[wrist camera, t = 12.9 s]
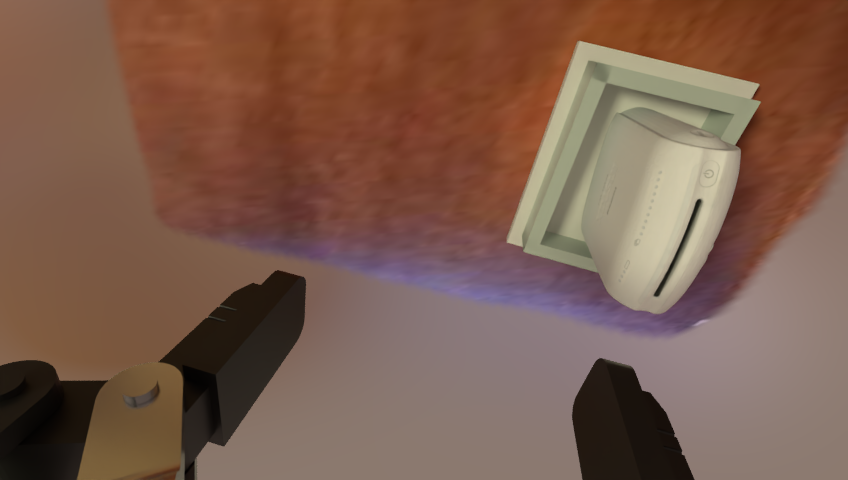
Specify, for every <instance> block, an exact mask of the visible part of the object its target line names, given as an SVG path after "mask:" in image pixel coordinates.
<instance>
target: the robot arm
mask: <svg viewBox="0 0 848 480" xmlns="http://www.w3.org/2000/svg"><path fill="white" fill-rule="evenodd" d="M305 293H306V280H305V278H304V277H301V276H297V275H294V274H290V273H287V272H283V271H279V270H277V271H275V272H274V273H273V274H271V275H270V277H269V278H267V279H266V280H265V282H264V283H263V284H262V285H258V284H255V283H252V284H250V285H248V286H245V287H243V288H241V289H239V290H237V291H235V292H233V293H232V294H231V296H229V297H228V298H227V299H226V300H225V301H224V302H223V303H222V304H220V307H217V308H216V309H215V310H214V311H213V312H212V313H211V314H210V315H209V317H208V318H206V319H204V320H203V321H202V322H201V323H200V324H199V325H198V326H197V327H196V328H195V329H194V330H193V331H192V332H190V333H189V335H187V336H186V337H185V338H184V339H183V340H182V341H181V342H180V343H179V344H177V345H176V346H175V348H173V349H172V350H171V351H170V352H169V353H168V354H167V355H166V356H165V357H164V358H163V359H161V360H160V361H159V362H152V363H144V364H140V365H137V366H133V367H130V368H128V369H126V370H124V371H122V372H120V373H118V374H117V375H115V376H114V377H113V378H111V379H110V380H107V381H60V380H59V378H58V375H57V373H56V370H55V368H54V367H53V366H52V365H50V364H48V363H46V362H43V361H37V360H26V361H18V362H12V363H8V364H4V365H2V366H0V480H197V456H198V454H199V453H200V452H201V450H202V449H203V448H204V446H205V445H206V443H207V442H211V443H215V444H217V445H221V446H225V445H226V443H227V442H228V440H229V439H230V437H231V436H232V434H233V433H234V432H235V430H236V429H237V427H238V426H239V424H240V423H241V421H242V420H243V418H244V417H245V416H246V414H247V413H248V411H249V410H250V408H251V407H252V406H253V404H254V402H255V401H256V400H257V398H258V397H259V395H260V394H261V392H262V391H263V390H264V388H265V387H266V385H267V384H268V382H269V381H270V380H271V378H272V377H273V375H274V374H275V372H276V371H277V369H278V368H279V367H280V365H281V363H282V362H283V361H284V359H285V358H286V356H287V355H288V353H289V352H290V351H291V349H292V348H293V346H294V345H295V343H296V342H297V340H298V338H299V336H300V334H301V331H302V329H303V325H304V317H305ZM572 420H573V426H574V432H575V438H576V444H577V450H578V456H579V462H580V467H581V473H582V479H583V480H694V478H693V475H692V473H691V470H690V468H689V466H688V463H687V461H686V459H685V456H684V455H682V449H681V447H680V445H679V442H678V440H677V438H676V437H674V434H675V433H674V430H673V428H672V426H671V423H670V421H669V419H668V416H667V414H666V412H665V411H664V409H663V408H662V407H661V406H660V404H659V403H658V402H657V401H656V400H655V399H654V397H653V396H652V394H651V393H649V392H646V391H642V389H641V386H640V384H639V381H638V378H637V376H636V373H635V371H634V369H633V368H632V367H631V366H628V365H625V364H621V363H617V362H614V361H610V360H606V359H602V358H600V359H598V360H597V361H596V362H595V363H594V365H593V367H592V369H591V370H590V372H589V374H588V376H587V378H586V380H585V381H584V383H583V385H582V387H581V388H580V390H579V392H578V394H577V396H576V398H575V401H574V405H573V412H572Z"/></svg>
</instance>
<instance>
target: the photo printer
mask: <svg viewBox="0 0 848 480" xmlns="http://www.w3.org/2000/svg"><path fill="white" fill-rule="evenodd" d="M740 158H741V150H740V148H739V147H737V146H735V145H732V144H730V143H727V142H725V141H722V140H721V139H720V138H719V137H717V136H716V135H714V134H712V133H710V132H707V131H705V130H702V129H700V128H697V127H695V126H692V125H690V124H687V123H685V122H682V121H680V120H677V119H675V118H672V117H669V116H667V115H664V114H662V113H659V112H656V111H654V110H651V109H648V108H644V107H635V108H631V109H628V110H625V111H623V112H622V113H618V112H617V113H616V114H615V116H614V117H613V119H612V121H611V123H610V125H609V128H608V130H607V133H606V136H605V139H604V142H603V145H602V148H601V151H600V154H599V157H598V160H597V163H596V167H595V170H594V173H593V177H592V180H591V184H590V188H589V191H588V195H587V199H586V203H585V207H584V211H583V216H582V224H581V230H582V234H583V236H584V239H585V241H586V244H587V246H588V248H589V251H590V253H591V256H592V258H593V261H594V263H595V265H596V267H597V270H598V272H599V274H600V277H601V279H602V282H603V284H604V286H605V289H606V290H607V292H608V293H609V294H610V295H611V296H612V297H613V298H614V299H616V300H617V301H618V302H620V303H621V304H623V305H625V306H627V307H629V308H631V309H633V310H643V311H648V312H651V313H654V314H661V313H664V312H666V311H667V310H668V309H669V308H671V307H672V306H673V305H674V304H675V303H676V302H677V301H678V300H679V299H680V298H681V297H682V295H683V294H684V293H685V292H686V290H687V289H688V288H689V286H690V285H691V283H692V282H693V280H694V279H695V277H696V276H697V274H698V273H699V271H700V269H701V268H702V266H703V265H704V263H705V262H706V260H707V257H708V254H709V252H710V251H711V250H712V248H713V246H714V242H715V240H716V238H717V236H718V234H719V232H720V229H721V227H722V225H723V222H724V220H725V217H726V214H727V212H728V209H729V206H730V203H731V200H732V197H733V194H734V190H735V187H736V183H737V179H738V175H739V168H740Z"/></svg>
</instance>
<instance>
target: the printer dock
mask: <svg viewBox="0 0 848 480" xmlns="http://www.w3.org/2000/svg"><path fill="white" fill-rule="evenodd" d="M759 85H760V84H757V83H753V82H748V81H744V80H740V79H736V78H732V77H728V76H723V75H719V74H715V73H711V72H707V71H703V70H698V69H694V68H690V67H686V66H682V65H678V64H673V63H669V62H665V61H661V60H657V59H653V58H648V57H644V56H640V55H636V54H632V53H628V52H623V51H619V50H615V49H611V48H607V47H603V46H598V45H594V44H590V43H586V42H582V41H577V44H576V47H575V49H574V52H573V55H572V58H571V61H570V63H569V66H568V69H567V72H566V74H565V77H564V80H563V83H562V86H561V88H560V91H559V94H558V97H557V99H556V102H555V105H554V108H553V111H552V113H551V116H550V119H549V122H548V124H547V127H546V130H545V133H544V136H543V138H542V141H541V144H540V147H539V150H538V152H537V155H536V158H535V161H534V163H533V166H532V169H531V172H530V175H529V177H528V180H527V183H526V186H525V188H524V191H523V194H522V197H521V200H520V202H519V205H518V208H517V211H516V214H515V216H514V219H513V222H512V225H511V227H510V230H509V233H508V236H507V242H508V243H511V244H515V245H518V246H522V247H523V252H526V253H529V254H533V255H537V256H540V257H544V258H547V259H551V260H554V261H558V262H562V263H565V264H569V265H572V266H576V267H579V268H583V269H587V270H590V271H594V272H597V273H599V272H598V270H597V267H596V265H595V263H594V261H593V258H592V256H591V253H590V251H589V248H588V246H587V244H586V241H585V239H584V236H583V234H582V230H581V224H582V216H583V211H584V207H585V203H586V199H587V195H588V191H589V188H590V184H591V180H592V177H593V173H594V170H595V167H596V163H597V160H598V157H599V154H600V151H601V148H602V145H603V142H604V139H605V136H606V133H607V130H608V128H609V125H610V123H611V121H612V119H613V117H614V116H615V114H616V113H617V112H618V113H622V112H623V111H625V110H628V109H631V108H635V107H644V108H648V109H651V110H654V111H656V112H659V113H662V114H664V115H667V116H669V117H672V118H675V119H677V120H680V121H682V122H685V123H687V124H690V125H692V126H695V127H697V128H700V129H702V130H705V131H707V132H710V133H712V134H714V135H716V136H717V137H719V138H720V139H721V140H722V141H725V142H727V143H730V144H732V145H735V144H736V143H737V141H738V139H739V138H740V136H741V134H742V133H743V131H744V129H745V128H746V126H747V124H748V123H749V121H750V119H751V118H752V116H753V114H754V113H755V111H756V109H757V108H758V106H759V104H760V103H761V102H760V101H756V100H752V99H751V98H752V97H753V95H754V93H755V92H756V90H757V88H758V86H759Z"/></svg>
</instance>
